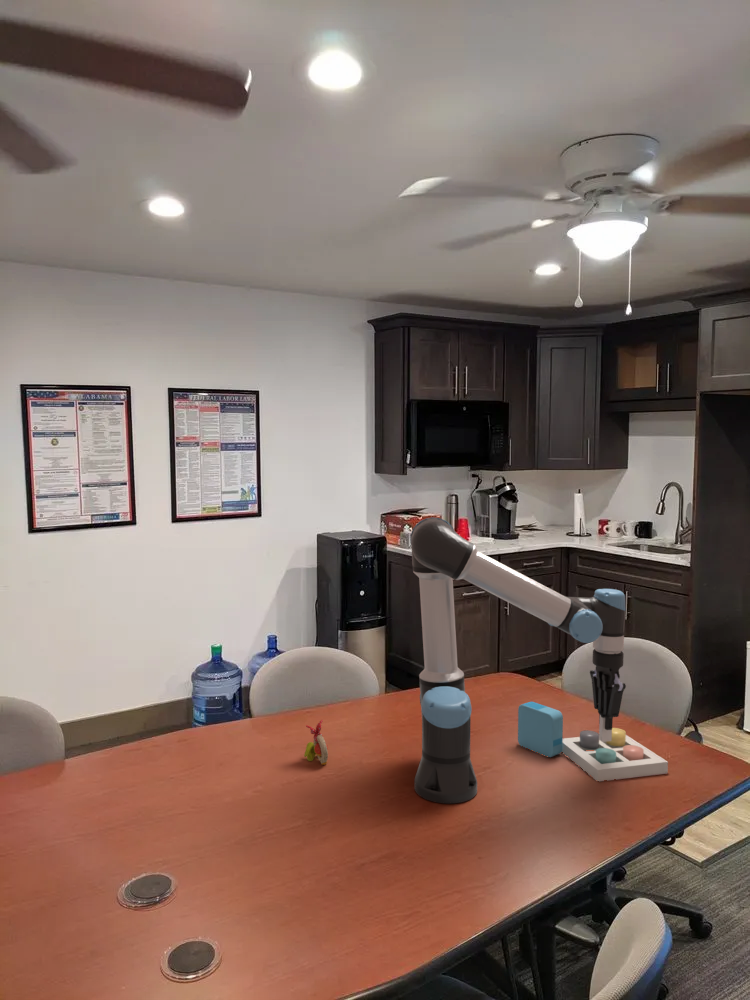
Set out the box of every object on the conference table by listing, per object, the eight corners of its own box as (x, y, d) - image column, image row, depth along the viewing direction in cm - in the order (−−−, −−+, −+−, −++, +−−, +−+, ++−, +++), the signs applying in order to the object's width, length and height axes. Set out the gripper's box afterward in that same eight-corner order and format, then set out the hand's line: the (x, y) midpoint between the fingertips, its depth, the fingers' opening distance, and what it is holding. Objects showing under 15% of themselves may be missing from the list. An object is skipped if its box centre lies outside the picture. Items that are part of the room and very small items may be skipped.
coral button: (630, 765, 182) (630, 753, 182) (619, 757, 187) (619, 746, 187) (647, 763, 183) (647, 751, 183) (635, 756, 188) (636, 744, 188)
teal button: (602, 769, 180) (602, 756, 180) (591, 761, 185) (592, 749, 185) (619, 767, 181) (620, 754, 181) (608, 759, 186) (609, 747, 186)
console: (597, 781, 176) (597, 769, 176) (557, 749, 195) (558, 739, 195) (667, 773, 181) (667, 761, 181) (622, 743, 200) (622, 732, 200)
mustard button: (612, 747, 190) (613, 735, 189) (602, 740, 194) (602, 728, 194) (629, 745, 191) (629, 733, 191) (618, 738, 196) (618, 727, 196)
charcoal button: (585, 750, 188) (586, 738, 188) (576, 742, 193) (576, 731, 192) (602, 748, 189) (603, 736, 189) (592, 741, 194) (592, 729, 194)
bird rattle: (334, 769, 187) (320, 745, 194) (342, 737, 183) (327, 713, 190) (313, 775, 184) (299, 750, 191) (320, 742, 180) (306, 718, 187)
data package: (562, 755, 192) (563, 711, 191) (552, 759, 189) (552, 715, 188) (527, 741, 201) (528, 699, 200) (517, 745, 198) (517, 703, 198)
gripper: (636, 656, 176) (632, 749, 177) (607, 642, 189) (604, 729, 190) (609, 657, 174) (606, 751, 176) (581, 644, 187) (578, 731, 188)
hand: (605, 740), depth 183 cm, fingers closed
